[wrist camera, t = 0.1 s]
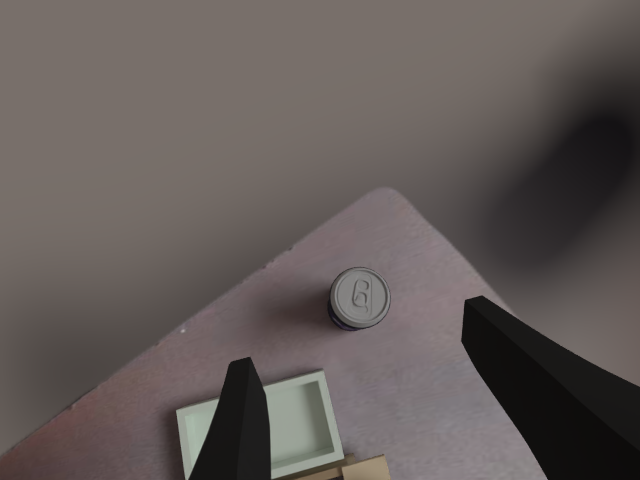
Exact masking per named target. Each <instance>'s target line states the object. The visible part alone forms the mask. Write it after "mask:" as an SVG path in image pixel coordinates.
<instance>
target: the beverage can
mask: <svg viewBox="0 0 640 480" xmlns="http://www.w3.org/2000/svg"><path fill="white" fill-rule="evenodd" d="M390 301H391V296H390V291H389V287H388V285H387V283H386V282H385V280H384V279H383V278H382V277H381V276H380V275H379V274H378V273H377V272H375V271H373V270H371V269H368V268H364V267H354V268H350V269H347V270H345V271H344V272H342V273H341V274H340V275H338V276H337V278H336V279H335V280H334V282H333V284H332V286H331V289H330V294H329V299H328V313H329V316H330V318H331V320H332V321H333V322H334V324H335V325H337V326H338V327H339V328H341V329H344V330H347V331H357V330H361V329H365V328H369V327H372V326H374V325H376V324H378V323H379V322H380V321H381V320H382V319H383V318H384V317H385V316H386V314H387V312H388V310H389V307H390Z"/></svg>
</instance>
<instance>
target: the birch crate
mask: <svg viewBox="0 0 640 480" xmlns="http://www.w3.org/2000/svg"><path fill="white" fill-rule="evenodd" d="M341 475H343V476H344V480H391V478H390V474H389V470H388V466H387V463H386V459H385V455H384V454H382V455H379V456H375V457H372V458H368V459H365V460H361V461H358V462H355V459H354V455H353V453H352V454H348V455H345V456H344V459H341V460H337V461H334V462H330V463H327V464H323V465H320V466H316V467H313V468H309V469H306V470H302V471H299V472H295V473H292V474H288V475H285V476H281V477H278V478H274V479H271V480H327V479H331V478H334V477H338V476H341Z"/></svg>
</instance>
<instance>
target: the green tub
mask: <svg viewBox="0 0 640 480" xmlns="http://www.w3.org/2000/svg"><path fill="white" fill-rule="evenodd" d="M262 386H263V388H264V391H265V393H266V398H267V406H268V413H269V422H270V440H271V479H274V478H278V477H281V476H285V475H288V474H292V473H295V472H299V471H302V470H306V469H309V468H313V467H316V466H320V465H323V464H327V463H330V462H334V461H337V460H341V459H344V454H343V449H342V445H341V441H340V436H339V432H338V428H337V424H336V420H335V416H334V412H333V407H332V403H331V399H330V395H329V391H328V387H327V383H326V379H325V374H324V370H323V369H320V370H316V371H312V372H308V373H305V374H301V375H297V376H293V377H290V378H286V379H282V380H279V381H275V382H271V383H267V384H264V385H262ZM219 398H220V396H219V397H215V398H211V399H208V400H204V401H200V402H197V403H193V404H189V405H186V406H184V407H182V408H180V409H178V410H176V413H177V420H178V428H179V435H180V443H181V450H182V457H183V465H184V472H185V480H188V479H189V476H190V474H191V472H192V470H193V467H194V465H195V462H196V460H197V458H198V455H199V453H200V450H201V448H202V445H203V443H204V440H205V438H206V435H207V433H208V430H209V427H210V424H211V422H212V419H213V416H214V413H215V410H216V407H217V404H218V401H219Z"/></svg>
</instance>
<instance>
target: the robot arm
mask: <svg viewBox="0 0 640 480" xmlns="http://www.w3.org/2000/svg"><path fill="white" fill-rule="evenodd" d="M461 342H462V344H463V346H464V348H465V350H466V351H467V353H468V355H469V357H470V359H471V361H472V363H473V365H474V366H475V368H476V370H477V371H478V373H479V374H480V376H481V377H482V379H483V380H484V382H485V383H486V385H487V386H488V387H489V389H490V390H491V392H492V393H493V395H494V396H495V398H496V399H497V400H498V402H499V403H500V405H501V406H502V408H503V409H504V410H505V412H506V413H507V415H508V416H509V418H510V419H511V420H512V422H513V423H514V425H515V426H516V428H517V429H518V431H519V432H520V433H521V435H522V437H523V438H524V440H525V441H526V443H527V444H528V446H529V448H530V449H531V451H532V453H533V454H534V456H535V458H536V460H537V461H538V463H539V465H540V467H541V468H542V470H543V472H544V474H545V475H546V477H547V479H548V480H640V387H639V386H637V385H634V384H632V383H630V382H628V381H626V380H624V379H622V378H620V377H618V376H616V375H614V374H612V373H610V372H608V371H606V370H604V369H602V368H600V367H598V366H596V365H594V364H592V363H590V362H589V361H587V360H585V359H583V358H581V357H580V356H578V355H576V354H574V353H573V352H571V351H569V350H567V349H565V348H564V347H562V346H560V345H559V344H557V343H555V342H554V341H552V340H550V339H549V338H547V337H546V336H544V335H542V334H540V333H539V332H538V331H536V330H534V329H533V328H531V327H530V326H528V325H526V324H525V323H523V322H522V321H520V320H519V319H517V318H516V317H514V316H513V315H511V314H510V313H508V312H507V311H505V310H504V309H502V308H501V307H499V306H498V305H496V304H495V303H493V302H491V301H490V300H488V299H487V298H485V297H484V296H478V297H474V298H471V299H467V300H465V304H464V315H463V327H462V339H461ZM188 480H271V440H270V422H269V413H268V406H267V398H266V393H265V391H264V388H263V386H262V384H261V381H260V379H259V376H258V374H257V372H256V369H255V367H254V364H253V362H252V360H251V357H247V358H243V359H240V360H236V361H232V362H231V363H230V364H229V366H228V370H227V374H226V378H225V382H224V385H223V388H222V392H221V395H220V398H219V401H218V404H217V407H216V410H215V413H214V416H213V419H212V422H211V424H210V427H209V430H208V433H207V435H206V438H205V440H204V443H203V445H202V448H201V450H200V453H199V455H198V458H197V460H196V462H195V465H194V467H193V470H192V472H191V474H190V476H189V479H188Z"/></svg>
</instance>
